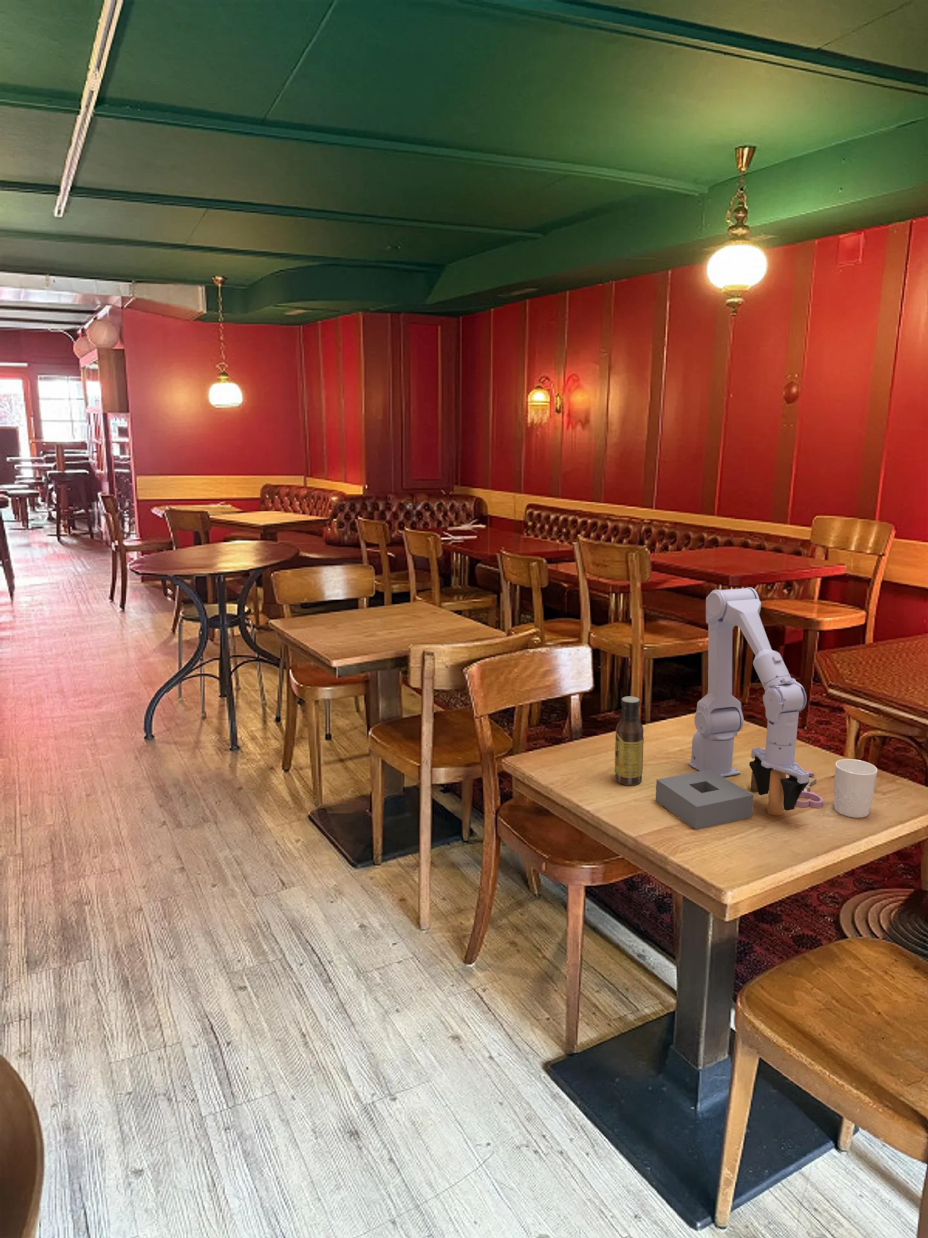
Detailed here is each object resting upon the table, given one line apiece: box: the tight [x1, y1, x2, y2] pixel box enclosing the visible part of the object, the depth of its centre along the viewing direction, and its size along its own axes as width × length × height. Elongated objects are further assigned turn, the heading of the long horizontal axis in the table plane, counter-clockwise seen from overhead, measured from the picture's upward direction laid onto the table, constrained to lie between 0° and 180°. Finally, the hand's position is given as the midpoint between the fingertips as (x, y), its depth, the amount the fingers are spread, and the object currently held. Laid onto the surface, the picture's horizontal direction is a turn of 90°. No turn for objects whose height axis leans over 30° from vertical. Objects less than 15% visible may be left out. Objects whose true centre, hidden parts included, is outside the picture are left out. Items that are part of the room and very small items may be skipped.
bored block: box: [655, 769, 754, 830], centre depth 172 cm, size 14×14×5 cm
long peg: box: [767, 769, 787, 817], centre depth 169 cm, size 3×3×9 cm
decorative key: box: [795, 768, 824, 809], centre depth 181 cm, size 7×1×20 cm
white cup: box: [833, 758, 878, 819], centre depth 169 cm, size 8×8×10 cm
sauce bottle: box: [614, 695, 645, 786], centre depth 184 cm, size 6×6×20 cm
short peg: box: [750, 770, 758, 794], centre depth 180 cm, size 3×3×4 cm
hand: (775, 801), depth 170 cm, fingers open, 7 cm apart
